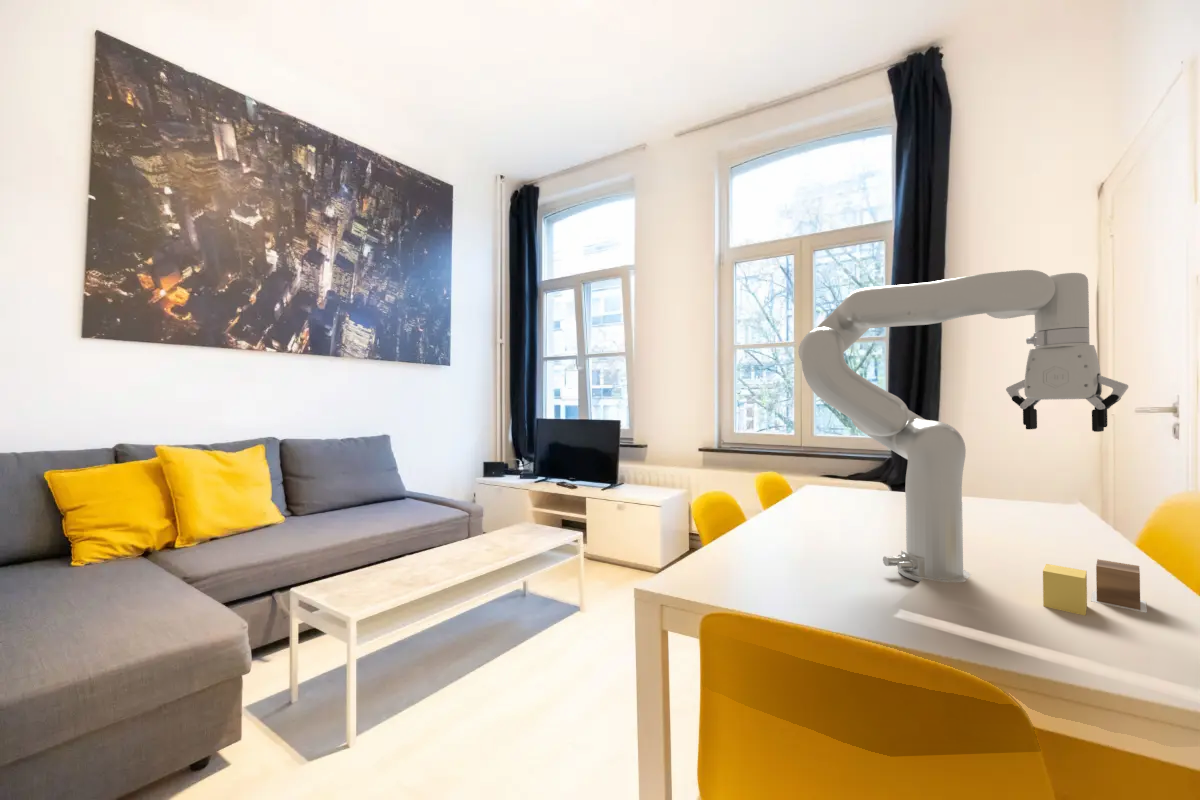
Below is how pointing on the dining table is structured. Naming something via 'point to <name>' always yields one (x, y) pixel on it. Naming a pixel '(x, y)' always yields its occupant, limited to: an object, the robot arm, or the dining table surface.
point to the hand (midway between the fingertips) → (1063, 430)
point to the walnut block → (1118, 584)
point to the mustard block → (1065, 589)
